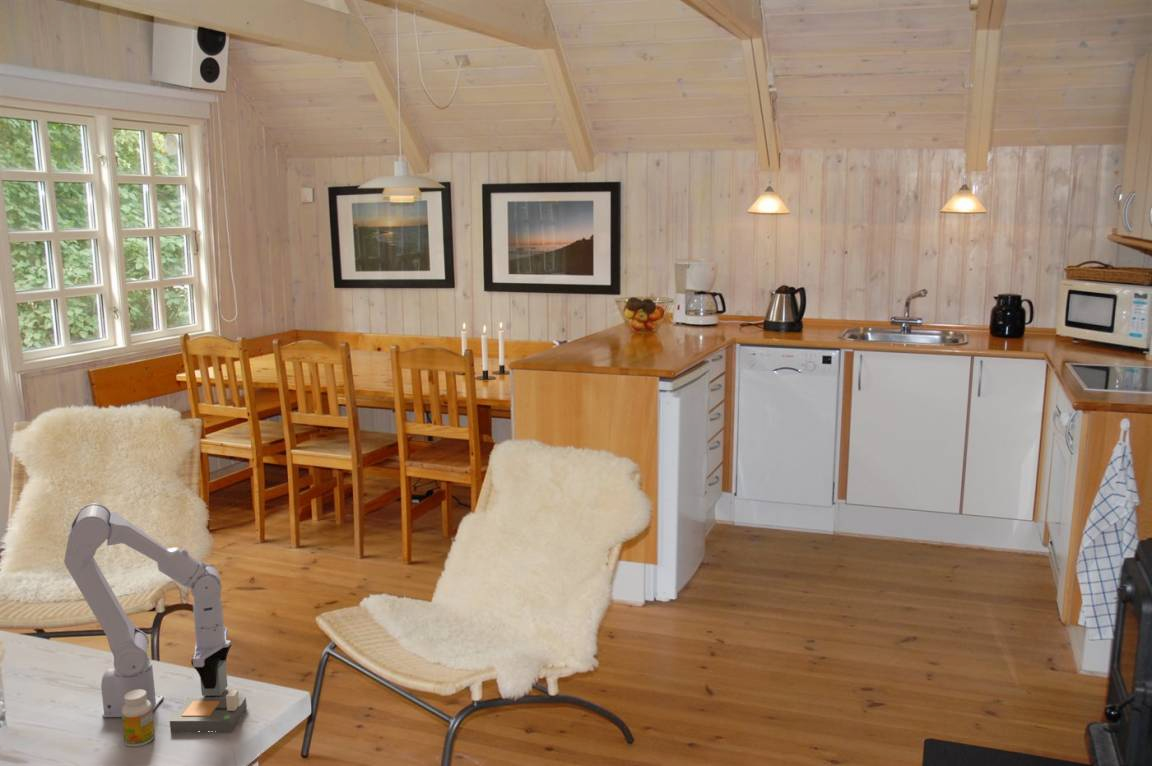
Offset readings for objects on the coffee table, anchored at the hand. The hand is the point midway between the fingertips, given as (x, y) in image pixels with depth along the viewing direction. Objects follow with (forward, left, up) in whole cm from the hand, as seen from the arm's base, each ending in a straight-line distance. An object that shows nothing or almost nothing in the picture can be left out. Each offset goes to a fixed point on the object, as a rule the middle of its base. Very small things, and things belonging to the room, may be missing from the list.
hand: (214, 682), depth 205 cm
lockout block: (0, 0, -2) cm, 2 cm away
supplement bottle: (-8, -18, -3) cm, 20 cm away
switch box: (+3, -11, -2) cm, 12 cm away
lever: (+8, -11, 0) cm, 14 cm away
